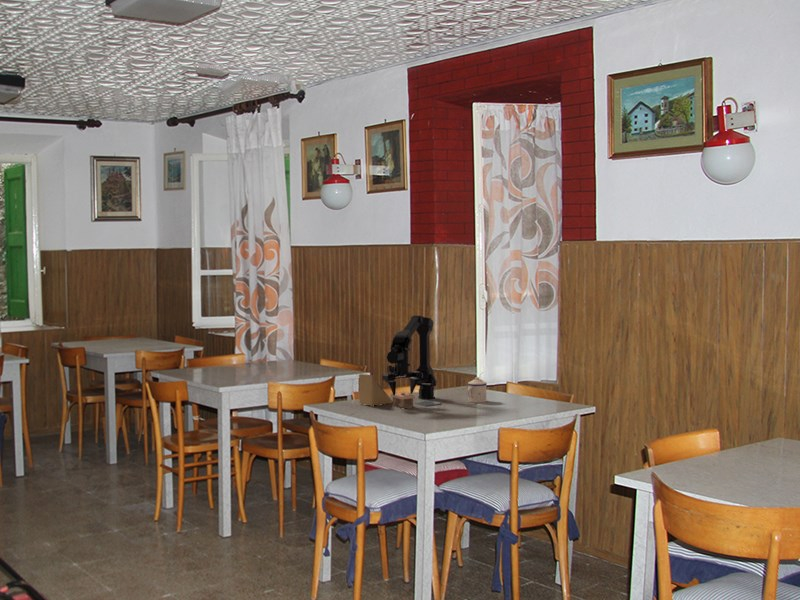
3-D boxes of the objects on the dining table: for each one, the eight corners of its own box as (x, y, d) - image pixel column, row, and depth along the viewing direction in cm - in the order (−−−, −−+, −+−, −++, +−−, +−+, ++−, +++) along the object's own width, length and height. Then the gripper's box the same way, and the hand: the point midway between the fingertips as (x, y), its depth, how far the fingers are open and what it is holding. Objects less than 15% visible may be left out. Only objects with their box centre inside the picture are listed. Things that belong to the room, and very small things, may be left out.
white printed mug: (475, 399, 442) (475, 375, 442) (490, 401, 436) (490, 377, 436) (460, 402, 434) (460, 378, 433) (475, 404, 427) (475, 379, 427)
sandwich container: (394, 402, 436) (394, 371, 435) (372, 407, 425) (371, 375, 424) (381, 400, 442) (381, 370, 441) (359, 405, 431) (358, 373, 430)
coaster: (431, 401, 436) (431, 400, 436) (441, 404, 429) (441, 403, 428) (415, 403, 432) (415, 402, 432) (425, 406, 424) (425, 405, 424)
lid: (391, 398, 426) (391, 392, 426) (403, 396, 429) (403, 391, 429) (402, 401, 417) (402, 395, 417) (414, 399, 420) (414, 394, 420)
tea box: (392, 405, 426) (392, 396, 426) (402, 404, 429) (402, 395, 429) (403, 408, 418) (403, 399, 418) (413, 407, 420) (413, 398, 420)
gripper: (411, 357, 434) (411, 390, 435) (376, 360, 425) (377, 394, 426) (423, 360, 424) (423, 393, 425) (387, 363, 415) (388, 397, 416)
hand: (402, 394), depth 423 cm, fingers open, 9 cm apart
